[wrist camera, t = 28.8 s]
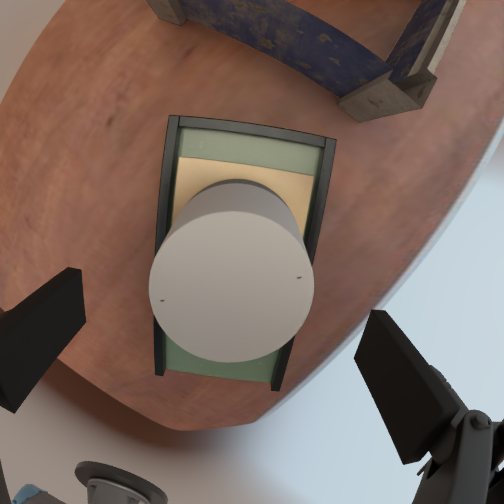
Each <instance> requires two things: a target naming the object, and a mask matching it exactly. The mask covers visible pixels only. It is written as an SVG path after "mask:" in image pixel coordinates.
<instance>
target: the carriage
mask: <svg viewBox="0 0 504 504" xmlns="http://www.w3.org/2000/svg"><path fill="white" fill-rule="evenodd" d="M227 179H246V180H251V181H255V182H258V183H260V184H262V185H265V186H266V187H268V188H270V189H271V190H273V191H274V192H275V193H276V194H278V195H279V196H280V197H281V198H282V199H283V201H284V202H285V203H286V204H287V206H288V207H289V209H290V211H291V212H292V214H293V216H294V218H295V220H296V222H297V225H298V228H299V231H300V234H301V236H302V239H303V234H304V229H305V224H306V219H307V214H308V209H309V203H310V198H311V192H312V187H313V181H314V176H312V175H308V174H302V173H297V172H291V171H285V170H280V169H274V168H267V167H261V166H254V165H248V164H241V163H233V162H226V161H218V160H209V159H201V158H191V157H179V161H178V169H177V177H176V186H175V196H174V206H173V216H172V225H173V223H174V222H175V220H176V218H177V216H178V215H179V213H180V211H181V210H182V209H183V207H184V206H185V205H186V204H187V202H188V201H189V200H190V199H191V198H192V197H193V196H194V195H195V194H197V193H198V192H199V191H200V190H202V189H203V188H205V187H207V186H209V185H211V184H213V183H216V182H218V181H222V180H227Z"/></svg>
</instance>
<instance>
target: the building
mask: <svg viewBox="0 0 504 504" xmlns="http://www.w3.org/2000/svg"><path fill="white" fill-rule="evenodd" d="M146 1H147V2H148V4H149V5H150V6H151V8H152V9H153V11H154V12H155V13H156V15H157V16H158V18H160V19H163V20H166V21H169V22H172V23H174V24H177V25H180V26H182V25H183V24H184V22H185V21H186V20H187V19H188V20H190V21H193V22H196V23H198V24H201V25H204V26H206V27H209V28H211V29H213V30H216V31H218V32H221V33H223V34H225V35H228V36H230V37H232V38H234V39H236V40H239V41H241V42H243V43H245V44H247V45H249V46H251V47H253V48H255V49H257V50H259V51H261V52H263V53H265V54H267V55H269V56H271V57H273V58H275V59H277V60H278V61H280V62H282V63H284V64H286V65H288V66H289V67H291V68H293V69H295V70H296V71H298V72H300V73H301V74H303V75H305V76H306V77H308V78H310V79H311V80H313V81H315V82H316V83H318V84H319V85H321V86H322V87H324V88H326V89H327V90H329V91H330V92H332V93H333V94H335V95H336V96H338V97H339V98H341V99H340V100H339V102H338V103H337V105H336V106H337V107H338V108H340V109H341V110H343V111H344V112H346V113H347V114H348V115H350V116H351V117H353V118H354V119H355V120H357V121H358V122H360V123H361V122H365V121H369V120H373V119H377V118H381V117H385V116H390V115H394V114H398V113H403V112H407V111H412V110H417V109H422V108H423V106H424V104H425V102H426V100H427V98H428V96H429V94H430V92H431V90H432V88H433V86H434V84H435V82H436V80H437V77H436V76H435V75H433V73H434V71H435V69H436V67H437V65H438V63H439V61H440V59H441V57H442V55H443V53H444V51H445V48H446V46H447V44H448V42H449V40H450V38H451V35H452V33H453V31H454V29H455V26H456V24H457V22H458V19H459V17H460V15H461V12H462V10H463V8H464V5H465V3H466V0H422V1H421V2H420V4H419V6H418V7H417V9H416V11H415V13H414V14H413V16H412V18H411V20H410V21H409V23H408V25H407V26H406V28H405V30H404V32H403V33H402V35H401V37H400V38H399V40H398V42H397V43H396V45H395V47H394V48H393V50H392V52H391V54H390V55H389V57H388V59H387V60H386V62H384V61H383V60H382V59H380V58H379V57H377V56H376V55H375V54H373V53H372V52H371V51H369V50H368V49H366V48H365V47H364V46H362V45H361V44H359V43H358V42H356V41H355V40H353V39H352V38H350V37H349V36H347V35H346V34H344V33H342V32H341V31H339V30H338V29H336V28H334V27H333V26H331V25H329V24H328V23H326V22H324V21H322V20H321V19H319V18H317V17H315V16H314V15H312V14H310V13H308V12H306V11H304V10H302V9H300V8H298V7H296V6H295V5H293V4H290V3H288V2H286V1H284V0H146Z"/></svg>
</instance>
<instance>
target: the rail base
mask: <svg viewBox="0 0 504 504" xmlns="http://www.w3.org/2000/svg"><path fill="white" fill-rule="evenodd" d="M336 141H337V140H336V139H332V138H328V137H324V136H319V135H314V134H310V133H305V132H300V131H294V130H289V129H284V128H278V127H272V126H266V125H259V124H253V123H246V122H238V121H230V120H222V119H213V118H202V117H191V116H177V115H169V119H168V125H167V132H166V139H165V146H164V154H163V162H162V171H161V180H160V190H159V200H158V212H157V226H156V242H155V257H156V255H157V253H158V251H159V249H160V247H161V245H162V243H163V241H164V240H165V238H166V236H167V234H168V232H169V231H170V229H171V227H172V216H173V206H174V196H175V186H176V177H177V169H178V161H179V157H191V158H201V159H209V160H218V161H226V162H233V163H241V164H248V165H254V166H261V167H267V168H274V169H280V170H285V171H291V172H297V173H302V174H308V175H312V176H314V181H313V187H312V192H311V198H310V203H309V209H308V214H307V219H306V224H305V229H304V234H303V242H304V245H305V248H306V251H307V254H308V257H309V260H310V263H311V267H312V265H313V261H314V256H315V252H316V247H317V243H318V238H319V233H320V228H321V224H322V219H323V214H324V209H325V204H326V198H327V193H328V188H329V182H330V177H331V171H332V165H333V160H334V154H335V147H336ZM294 338H295V335H294V336H293V337H292V338H291V339H290V340H289V341H288V342H287V343H286V344H284V345H283V346H282V347H280V348H279V349H277V350H275V351H274V352H272V353H270V354H268V355H265V356H263V357H260V358H257V359H253V360H249V361H244V362H231V363H228V362H216V361H211V360H207V359H203V358H200V357H198V356H195V355H193V354H191V353H189V352H187V351H186V350H184V349H183V348H181V347H180V346H178V345H177V344H176V343H175V342H174V341H172V340H171V339H170V338H169V336H168V335H167V334H166V333H165V332H164V331H163V329H162V328H161V326H160V325H159V323H158V321H157V319H156V317H155V315H154V359H155V375H158V376H163V375H164V372H165V369H170V370H176V371H181V372H187V373H193V374H200V375H206V376H213V377H221V378H228V379H237V380H246V381H256V382H267V383H271V391H280V387H281V384H282V381H283V377H284V374H285V370H286V367H287V363H288V360H289V356H290V353H291V349H292V345H293V342H294Z"/></svg>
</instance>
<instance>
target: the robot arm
mask: <svg viewBox="0 0 504 504" xmlns="http://www.w3.org/2000/svg"><path fill="white" fill-rule="evenodd" d="M85 323H86V316H85V307H84V297H83V286H82V271H81V270H80V269H75V268H70V267H67V268H66V269H65V270H63V271H62V272H60V273H59V274H58V275H56V276H55V277H53V278H52V279H51V280H49V281H48V282H47V283H45V284H44V285H43V286H41V287H40V288H39V289H37V290H36V291H35V292H33V293H32V294H31V295H29V296H28V297H27V298H26V299H24V300H23V301H22V302H20V303H19V304H18V305H17V306H15V307H14V308H13V309H11V310H9V311H6V312H4V313H2V314H0V406H1V407H3V408H5V409H7V410H8V411H10V412H12V413H14V414H15V413H16V411H17V410H18V408H19V407H20V406H21V404H22V403H23V401H24V400H25V399H26V397H27V396H28V395H29V393H30V392H31V390H32V389H33V388H34V386H35V385H36V384H37V382H38V381H39V380H40V379H41V377H42V376H43V375H44V373H45V372H46V371H47V369H48V368H49V367H50V366H51V364H52V363H53V362H54V361H55V359H56V358H57V357H58V356H59V354H60V353H61V352H62V351H63V349H64V348H65V347H66V346H67V345H68V343H69V342H70V341H71V340H72V338H73V337H74V336H75V335H76V334H77V332H78V331H79V330H80V329H81V328H82V327H83V325H84V324H85ZM354 360H355V362H356V364H357V366H358V368H359V370H360V372H361V374H362V376H363V378H364V380H365V383H366V385H367V387H368V389H369V391H370V393H371V395H372V397H373V399H374V401H375V404H376V406H377V408H378V410H379V412H380V414H381V416H382V419H383V421H384V423H385V425H386V427H387V429H388V432H389V434H390V436H391V438H392V441H393V443H394V445H395V447H396V450H397V452H398V454H399V457H400V459H401V461H402V463H403V465H405V464H409V463H413V462H418V461H420V460H421V459H422V458H423V457H424V456H425V454H426V453H427V452H428V451H429V452H430V454H431V456H432V457H431V458H430V460H429V461H428V462H427V463H426V464H425V465H424V466H423V467H422V468H421V469H420V471H419V472H418V473H417V475H418V476H419V475H420V474H421V473H422V472H423V471H424V474H423V477H422V480H421V482H420V485H419V487H418V490H417V493H416V495H415V498H414V500H413V502H412V504H504V468H503V469H502V470H501V471H499V469H498V466H499V465H500V463H501V462H503V460H504V419H503V420H502V422H492V421H491V419H490V418H489V417H488V416H487V415H486V414H485V413H483V412H481V411H479V410H468V408H467V407H466V406H465V404H464V403H463V401H462V400H461V399H460V398H459V396H458V395H457V393H456V392H455V391H454V389H452V388H451V385H450V384H449V383H448V382H446V379H445V378H444V376H443V375H442V374H441V372H439V371H438V370H437V369H435V368H434V367H433V366H432V365H429V364H428V363H427V362H426V360H425V359H424V358H423V357H422V355H421V354H420V353H419V351H418V350H417V349H416V348H415V346H414V345H413V344H412V343H411V341H410V340H409V339H408V338H407V336H406V335H405V334H404V333H403V331H402V330H401V329H400V328H399V326H398V325H397V324H396V323H395V322H394V320H393V319H392V318H391V317H390V316H389V315H388V313H387V312H386V311H384V310H372V309H371V312H370V315H369V318H368V321H367V324H366V327H365V329H364V332H363V335H362V338H361V341H360V343H359V346H358V349H357V351H356V354H355V356H354ZM87 493H88V504H150V499H149V498H148V497H147V496H146V495H145V494H143V493H142V492H140V491H138V490H137V489H135V488H133V487H131V486H128V485H126V484H124V483H121V482H118V481H115V480H112V479H109V478H105V477H98V476H94V477H91V478H90V479H89V481H88V485H87ZM0 504H65V503H64V502H62V501H60V500H58V499H57V498H55V497H53V496H52V495H50V494H48V492H46V491H44V490H42V489H40V488H38V487H37V486H35V485H32V484H26V485H25V486H23V487H22V488H21V489H20V490H19V492H18V493H17V494H16V496H15V497H14V500H13V501H12V502H11V500H10V497H9V493H8V490H7V486H6V482H5V478H4V475H3V470H2V466H1V462H0Z"/></svg>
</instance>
